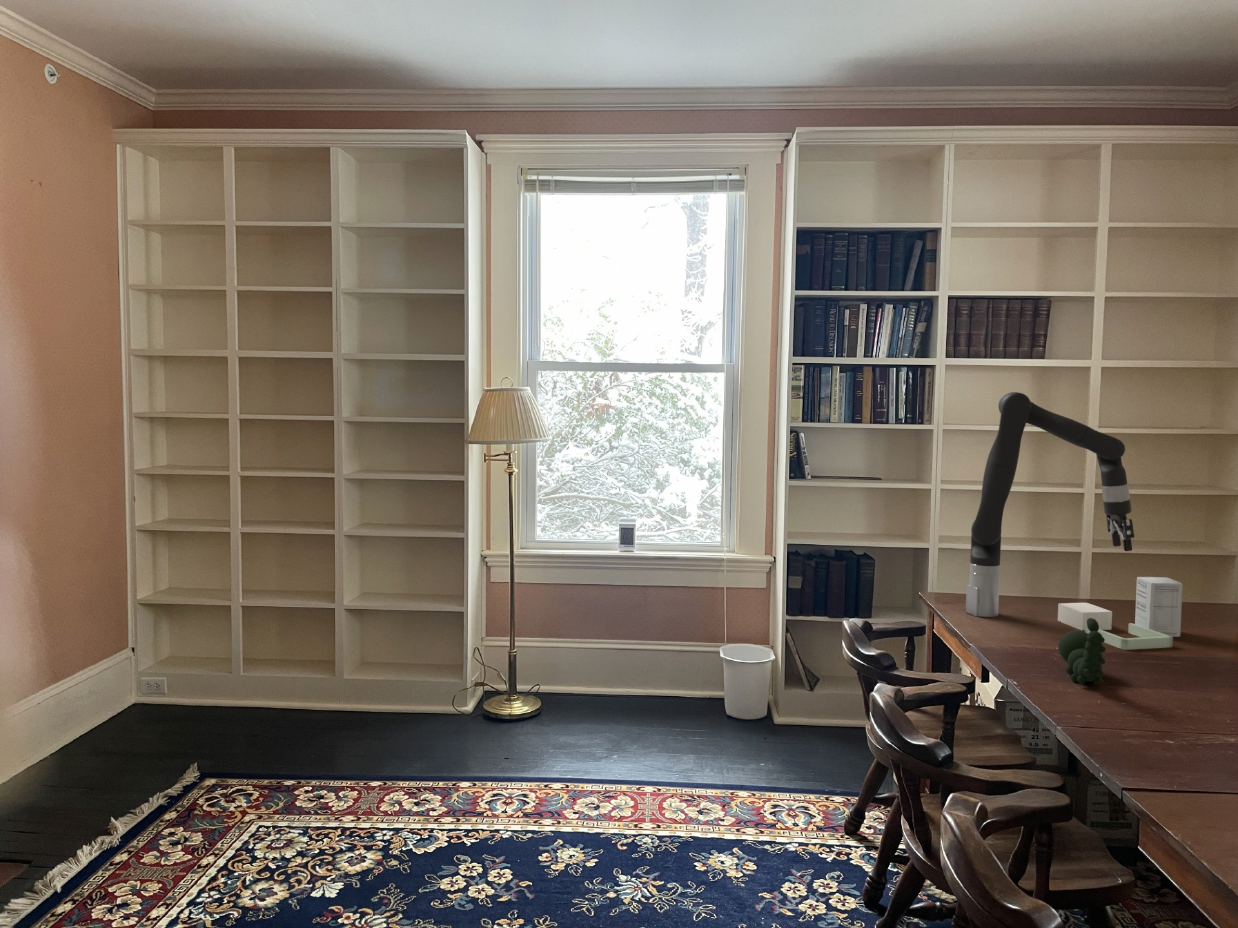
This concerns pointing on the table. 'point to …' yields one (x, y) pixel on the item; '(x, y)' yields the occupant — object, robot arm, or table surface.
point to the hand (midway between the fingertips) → (1122, 548)
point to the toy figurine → (1084, 654)
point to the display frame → (1145, 642)
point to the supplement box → (1159, 605)
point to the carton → (1084, 615)
